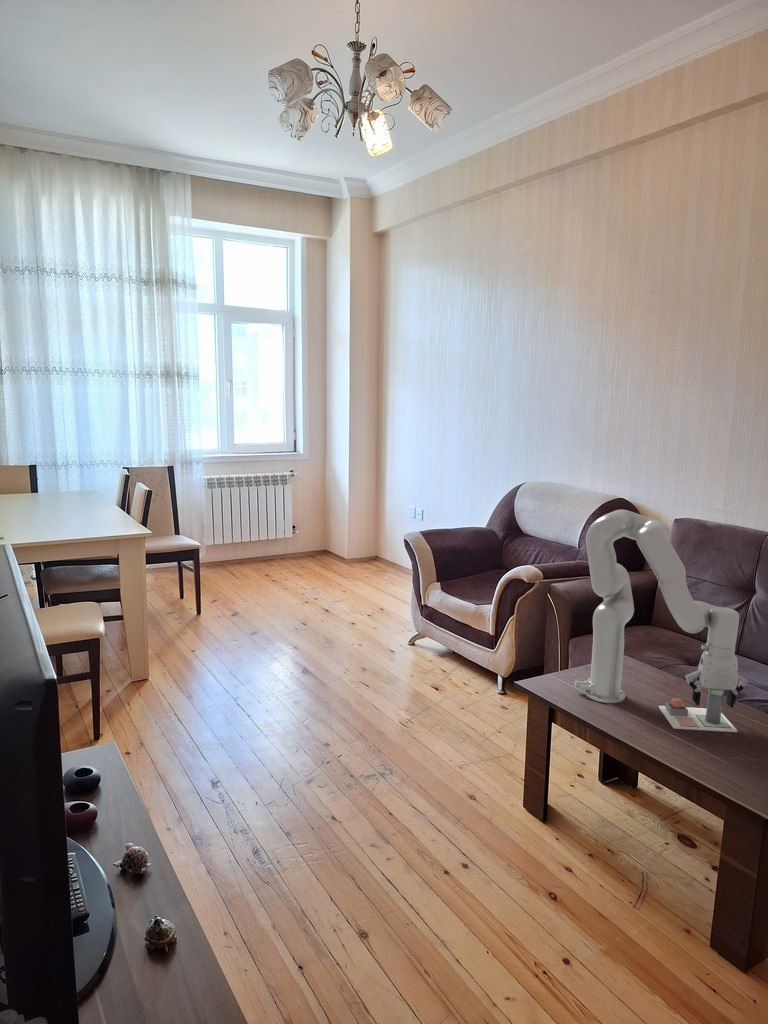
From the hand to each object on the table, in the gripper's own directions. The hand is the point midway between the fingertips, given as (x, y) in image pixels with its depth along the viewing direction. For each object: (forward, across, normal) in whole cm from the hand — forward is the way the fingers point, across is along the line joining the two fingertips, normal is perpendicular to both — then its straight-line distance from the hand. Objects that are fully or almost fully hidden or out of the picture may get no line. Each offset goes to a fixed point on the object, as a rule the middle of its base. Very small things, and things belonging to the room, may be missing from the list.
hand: (712, 704), depth 203 cm
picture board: (+6, -3, +2) cm, 7 cm away
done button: (+4, -8, +5) cm, 10 cm away
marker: (+5, 0, 0) cm, 5 cm away
